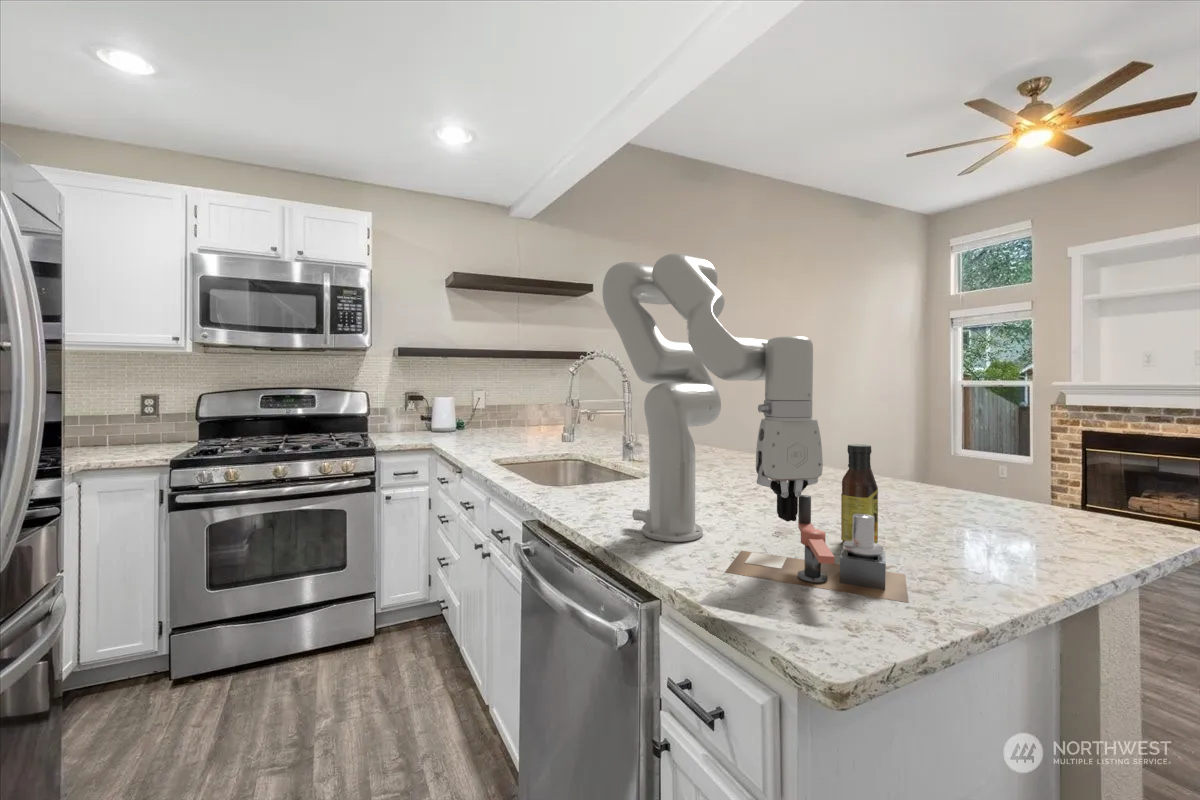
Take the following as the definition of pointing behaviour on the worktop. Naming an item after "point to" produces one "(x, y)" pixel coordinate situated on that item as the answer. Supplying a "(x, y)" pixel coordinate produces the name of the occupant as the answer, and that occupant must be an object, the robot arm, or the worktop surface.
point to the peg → (863, 538)
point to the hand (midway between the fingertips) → (787, 518)
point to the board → (788, 572)
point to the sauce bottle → (858, 491)
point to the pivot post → (812, 569)
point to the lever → (812, 532)
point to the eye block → (862, 570)
